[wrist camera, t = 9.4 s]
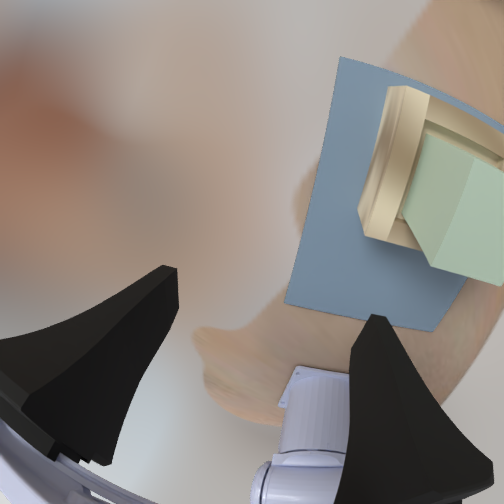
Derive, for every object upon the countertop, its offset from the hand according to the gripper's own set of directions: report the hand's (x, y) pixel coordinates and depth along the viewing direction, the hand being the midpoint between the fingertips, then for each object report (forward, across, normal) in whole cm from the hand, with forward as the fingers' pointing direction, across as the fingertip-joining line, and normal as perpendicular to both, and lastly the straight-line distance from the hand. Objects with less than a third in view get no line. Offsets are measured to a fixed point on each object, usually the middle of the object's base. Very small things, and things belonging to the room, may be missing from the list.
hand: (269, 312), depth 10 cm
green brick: (+6, -8, -5) cm, 11 cm away
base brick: (+10, -8, -5) cm, 13 cm away
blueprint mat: (+10, -8, -1) cm, 13 cm away
